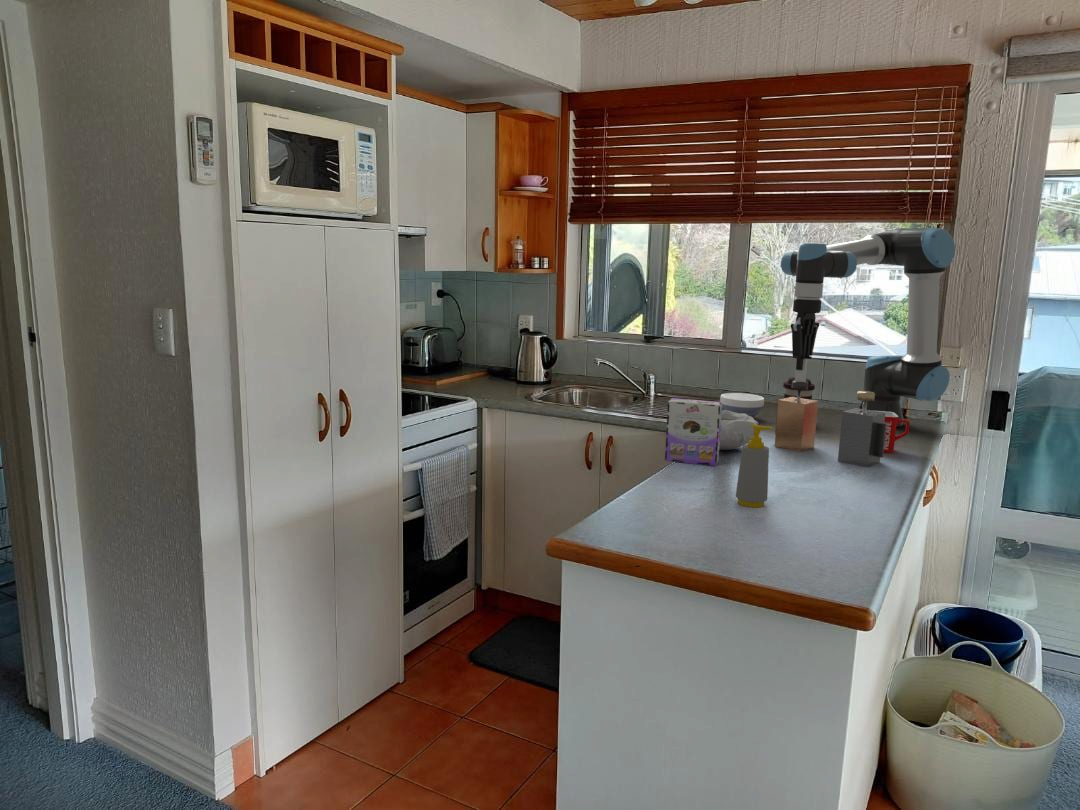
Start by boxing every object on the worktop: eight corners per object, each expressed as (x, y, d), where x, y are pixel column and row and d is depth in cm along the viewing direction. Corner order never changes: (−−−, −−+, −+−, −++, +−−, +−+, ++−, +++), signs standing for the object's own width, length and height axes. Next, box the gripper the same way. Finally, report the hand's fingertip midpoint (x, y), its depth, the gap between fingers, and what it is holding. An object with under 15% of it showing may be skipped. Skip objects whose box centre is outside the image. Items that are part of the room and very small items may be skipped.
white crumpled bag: (685, 437, 242) (687, 405, 240) (755, 442, 238) (757, 409, 236) (683, 454, 222) (685, 418, 220) (759, 460, 218) (762, 424, 216)
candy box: (719, 461, 215) (723, 401, 212) (716, 466, 210) (720, 405, 207) (667, 456, 220) (671, 396, 216) (663, 461, 214) (667, 400, 211)
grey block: (850, 456, 225) (855, 408, 222) (887, 463, 218) (892, 413, 215) (837, 461, 219) (842, 411, 217) (874, 468, 212) (880, 417, 210)
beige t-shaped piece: (853, 450, 223) (859, 389, 220) (874, 454, 219) (881, 392, 216) (844, 454, 219) (850, 391, 216) (865, 458, 215) (872, 395, 212)
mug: (865, 451, 231) (868, 415, 229) (860, 445, 239) (863, 410, 237) (909, 454, 229) (913, 418, 227) (902, 448, 237) (907, 412, 235)
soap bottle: (762, 510, 175) (768, 429, 171) (730, 504, 178) (737, 425, 175) (771, 502, 180) (778, 424, 177) (740, 496, 184) (746, 420, 181)
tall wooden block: (781, 440, 242) (785, 395, 239) (813, 447, 235) (818, 400, 232) (768, 444, 236) (772, 398, 233) (800, 451, 229) (805, 404, 226)
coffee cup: (812, 427, 262) (817, 382, 259) (781, 425, 264) (785, 380, 261) (809, 421, 272) (813, 377, 269) (778, 419, 274) (782, 375, 271)
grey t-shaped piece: (790, 436, 238) (795, 379, 235) (809, 440, 234) (814, 382, 231) (780, 439, 234) (785, 381, 231) (799, 443, 230) (805, 384, 227)
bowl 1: (768, 418, 276) (769, 396, 274) (754, 425, 263) (756, 402, 262) (727, 412, 283) (728, 391, 282) (712, 419, 271) (714, 397, 270)
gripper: (806, 297, 234) (798, 377, 238) (784, 298, 224) (777, 381, 229) (830, 298, 228) (822, 380, 233) (809, 299, 219) (801, 385, 224)
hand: (800, 381), depth 231 cm, fingers closed
